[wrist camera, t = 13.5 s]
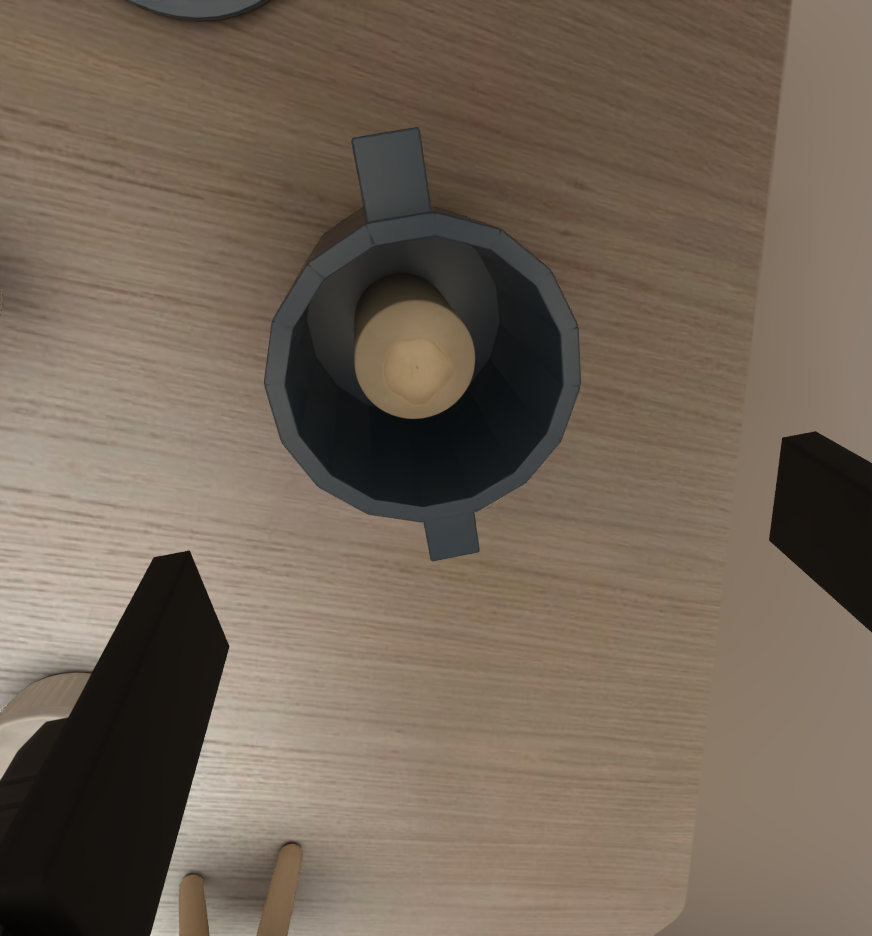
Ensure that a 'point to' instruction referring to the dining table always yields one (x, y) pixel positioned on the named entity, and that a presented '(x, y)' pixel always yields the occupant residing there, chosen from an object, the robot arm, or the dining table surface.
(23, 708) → the ramekin
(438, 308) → the candle
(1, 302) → the mug
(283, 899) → the planter
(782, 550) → the robot arm
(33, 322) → the dining table surface
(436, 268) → the pot
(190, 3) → the lid
